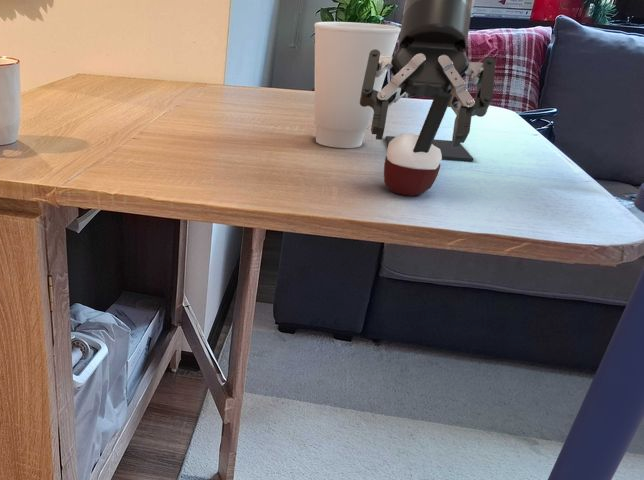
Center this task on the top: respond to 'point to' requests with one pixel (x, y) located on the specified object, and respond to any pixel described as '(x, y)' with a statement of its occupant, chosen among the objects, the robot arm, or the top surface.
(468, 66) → the robot arm
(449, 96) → the cocoa
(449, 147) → the coaster
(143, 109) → the top surface
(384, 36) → the cup
